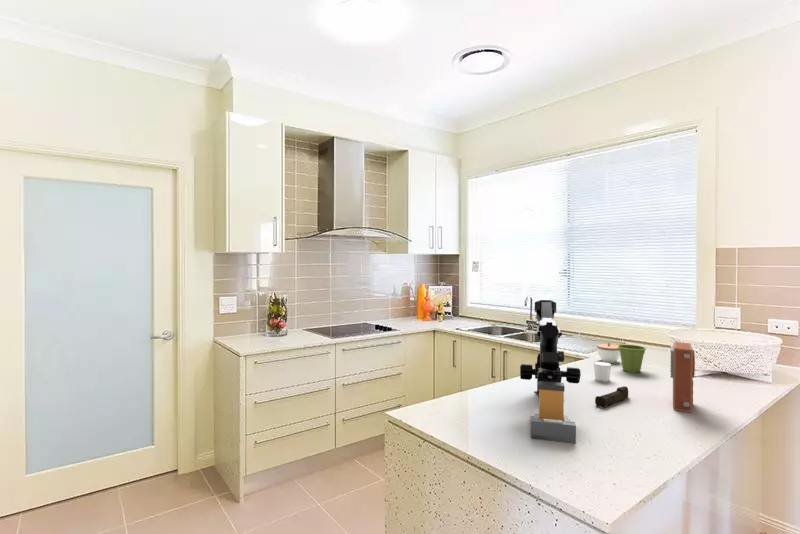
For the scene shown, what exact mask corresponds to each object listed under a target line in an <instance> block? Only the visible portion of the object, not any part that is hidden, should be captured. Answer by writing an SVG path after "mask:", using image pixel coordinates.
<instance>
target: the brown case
mask: <svg viewBox="0 0 800 534" xmlns="http://www.w3.org/2000/svg"><path fill="white" fill-rule="evenodd" d="M672 343H673V344H672V345H670V346H669V348H670V369H669V370H670V371H669V372H670V378H672V409H673V410H674V411H681V412H688V413H693V407H694V380H693V379H694V378H695V374H696V373H695V372H696V369H695V368H696V366H695V365H696V361H695V360H696V356H695V355H696V354H695V350H694V349H693V346H692V343H690V342H678V341H673V342H672Z"/></svg>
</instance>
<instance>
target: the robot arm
mask: <svg viewBox="0 0 800 534" xmlns="http://www.w3.org/2000/svg"><path fill="white" fill-rule="evenodd" d="M534 313H536V314H535V315H536V316H535V317H536V319H537V321H538V326H537V327H536V337H537V338H538V340H539V353H538V355H537V357H536V362H534V368H533V364H527V363H526V364H525V363H522V364H520V366H519V371H520V374H519V377H520V379H521V380H525V381H526V380H527V381H530V380H532V379H533V376H534V380H536V384H537V385H536V387H537V388H536V390H535V391H533V393H534V394H535V395H538V396H539V387H538V381H543V382H557V383H562V378H565V379H566V380H565V381H566V382H567V383H568V384H579V383H580V381H581V375H582V374H581V369H580V368H579V367H574V366H573V367H572V366H571V367H570V366H566V367H567V368H566V370H561V367H560V363H564V362H565V351H564V350H562V351H561V350H558V343H559V339H560V338H561V337H562V335H563V333H562V331H561V329H560V327H558V323H557V321H555V314H556V313H557V302H556V301H553V299H550V298H548V299H546V298H541V299H539V300H537V301H535V302H534Z"/></svg>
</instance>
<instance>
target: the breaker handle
mask: <svg viewBox="0 0 800 534" xmlns="http://www.w3.org/2000/svg"><path fill="white" fill-rule="evenodd" d="M538 387H539V395H538V416H539V418H542V419H553V420H562V421H564V414H565V413H564V412H565V411H564V410H565V407H564V405H565V403H564V401H565V396H564V395H565V384H564V382H561V383H557V382H543V381H538Z"/></svg>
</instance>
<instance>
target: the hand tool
mask: <svg viewBox="0 0 800 534" xmlns="http://www.w3.org/2000/svg"><path fill="white" fill-rule="evenodd" d="M628 398H629V389H628V386H620V387H617V388H616V390H615V391H612V392H609V393H607V394H606V393H605V394H603V395H598V396H595V400H594V401H595V402H594V404H595V405H596V407H599V408H602V409H603V408H606V407H608V405H611V404H614V403H617V402H619V401H623V402H624V401H626V400H627V399H628Z"/></svg>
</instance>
